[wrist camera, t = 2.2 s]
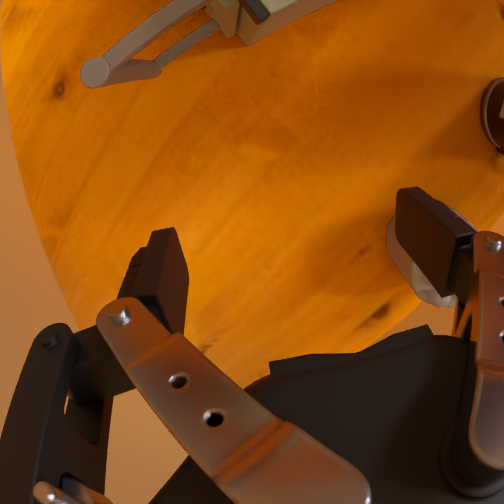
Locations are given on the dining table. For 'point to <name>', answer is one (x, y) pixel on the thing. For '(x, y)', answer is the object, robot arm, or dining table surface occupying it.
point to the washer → (271, 16)
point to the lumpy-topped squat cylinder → (416, 270)
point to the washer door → (119, 56)
